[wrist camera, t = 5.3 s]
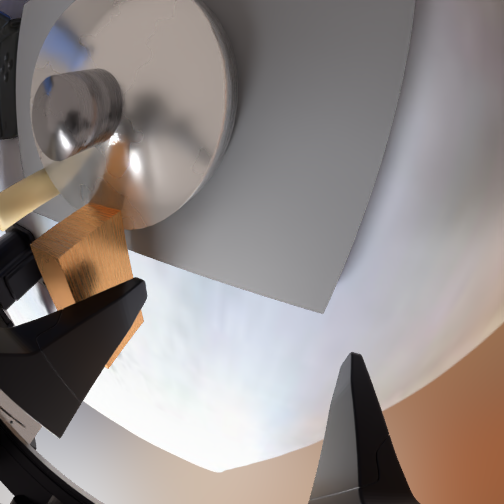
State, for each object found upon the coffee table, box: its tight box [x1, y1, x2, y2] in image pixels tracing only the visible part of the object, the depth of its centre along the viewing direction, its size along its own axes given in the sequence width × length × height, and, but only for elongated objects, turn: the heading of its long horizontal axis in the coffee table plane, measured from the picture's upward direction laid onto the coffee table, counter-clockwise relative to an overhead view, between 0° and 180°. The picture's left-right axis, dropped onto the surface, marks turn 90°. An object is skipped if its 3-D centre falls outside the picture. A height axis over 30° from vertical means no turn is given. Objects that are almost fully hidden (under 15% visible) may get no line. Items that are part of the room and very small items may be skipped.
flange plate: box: [30, 0, 238, 369], centre depth 8 cm, size 14×14×5 cm
